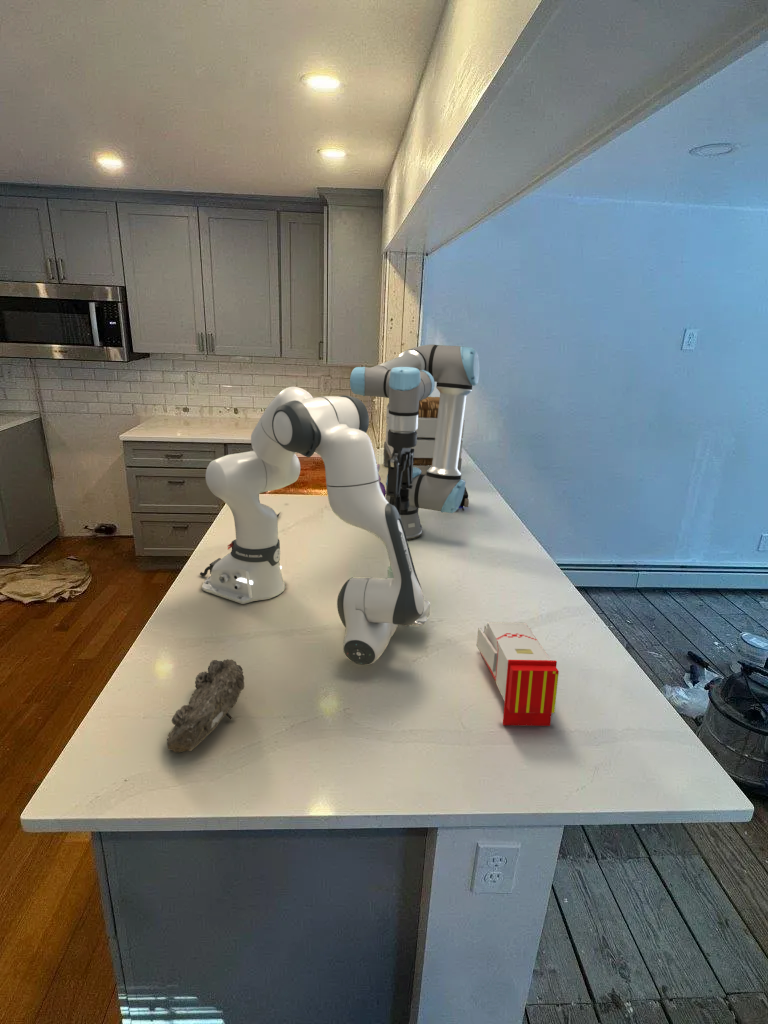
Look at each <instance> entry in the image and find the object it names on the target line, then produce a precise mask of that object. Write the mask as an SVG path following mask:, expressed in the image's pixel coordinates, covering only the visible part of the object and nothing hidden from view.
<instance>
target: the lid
mask: <svg viewBox="0 0 768 1024" xmlns="http://www.w3.org/2000/svg"><path fill="white" fill-rule="evenodd" d="M389 503H390V499H389ZM409 504H410V501H409V499H408V498H407V497H403V496H401V508H400V510H405V509H408V508H409Z"/></svg>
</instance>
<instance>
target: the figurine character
mask: <svg viewBox="0 0 768 1024" xmlns="http://www.w3.org/2000/svg"><path fill="white" fill-rule="evenodd" d="M469 505H470V500H469V492H468V490H467V488H466V486H465V491H464V495H463V498H462V501H461V504H460V506H459V508H458V509H461V511H462V512H464V511H465V508H469ZM458 509H457V510H456V511H455V512H457V511H458Z"/></svg>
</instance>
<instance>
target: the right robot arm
mask: <svg viewBox="0 0 768 1024" xmlns="http://www.w3.org/2000/svg"><path fill="white" fill-rule="evenodd" d="M480 371H481V369H480V357H479V353H478V351H477V350H476V349H475V348H474V347H470V346H463V345H444V344H443V345H441V344H424V345H419V346H415V347H411V348H409V349H406V350H404V351H402V352H400V354H399V355H398V356H397V357H394V358H392V359H389V360H387V361H383V362H382V363H379V364H377V365H374V366H371V367H368V366H356V367H354V368H353V369H352V371H351V373H350V375H349V387H350V391H351V392H352V393H353V394H354V395H358V396H363V397H376V398H386V399H388V403H389V415H388V416H387V419H388V428H389V429H390V430H389V431H388V441H387V443H388V445H389V446H392V447H393V453H392V459H388V467H387V475H386V482H385V490H386V495H385V498H386V500H387V501H388V502H389V499H390V504H391V505H393V506H395V507H396V509H397V511H398V513H399V515H400V518H401V521H402V524H403V527H404V531H405V534H406V538H407V541H410V540H415V539H418V538H420V537H421V536H422V535H423V525H422V524H421V518H420V515H419V509H422V510H429V511H433V512H440V513H447V514H453V513H456V512H457V511H458V509H460V508H459V506H460V504H461V501H462V498H463V495H464V491H465V487H466V481H465V479H462V473H460V471H459V470H458V460H459V452H460V444H461V440H462V438H461V436H462V428H463V420H465V411H466V404H467V403H466V402H467V396H468V395H469V394H470V393H471V392H473V386H477V385H478V384H479V382H480V381H479V379H480ZM435 388H436V389H437V391H438V392H439V397H440V399H439V408H438V417H437V426H436V434H435V443H434V452H433V461H432V465H430V466H429V468H428V469H427V470H426V473H425V474H424V473H422V469H421V468H419V467H417V466H413V457H414V449H412V447H415V446H416V444H417V432H416V431H415V430H417V429H418V409H419V401H421V400H423V399H426V398H427V397H430V396H431V395H432V393H433V392H434V390H435ZM401 496H403V497H407V498H408V499H409V501H410V504H409V508H408V509H405V510H400V508H401ZM456 510H457V511H456Z"/></svg>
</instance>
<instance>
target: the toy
mask: <svg viewBox="0 0 768 1024" xmlns="http://www.w3.org/2000/svg"><path fill="white" fill-rule="evenodd" d="M483 626H484V627H483V629H482V628H481V627H478V629H477V638H476V647H477V649H478V650H479V652H480V655H481V656H482V658H483V661H484V662H485V664H486V666H487V668H488V670H489V672H490V674H491V676H492V677H493V679H494V681H495V684H496V686H497V688H498V692H499V693H500V694H501V697H502V699H503V702H504V703H503V705H504V706H503V716H502V726H522V727H523V726H527V727H528V726H532V727H533V726H534V727H551V722H552V714H555V711H556V703H557V702H556V700H557V694H558V692H557V691H558V683H559V682H558V681H559V674H560V673H559V672H560V671H559V669H558V668H557V665H558V661H557V660H552V659H551V657H550V656H549V654H548V653H547V651H546V650H545V649H544V647H543V646H542V644H541V643H540V642H539V640H538V639H537V637H536V635H535V634H534V633H533V630H532V628H531V627H530V626H528V624H527V623H526V622H511V621H510V622H507V621H505V622H504V621H503V622H501V621H497V622H496V621H495V622H494V621H487V623H486V624H484V625H483Z"/></svg>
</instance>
